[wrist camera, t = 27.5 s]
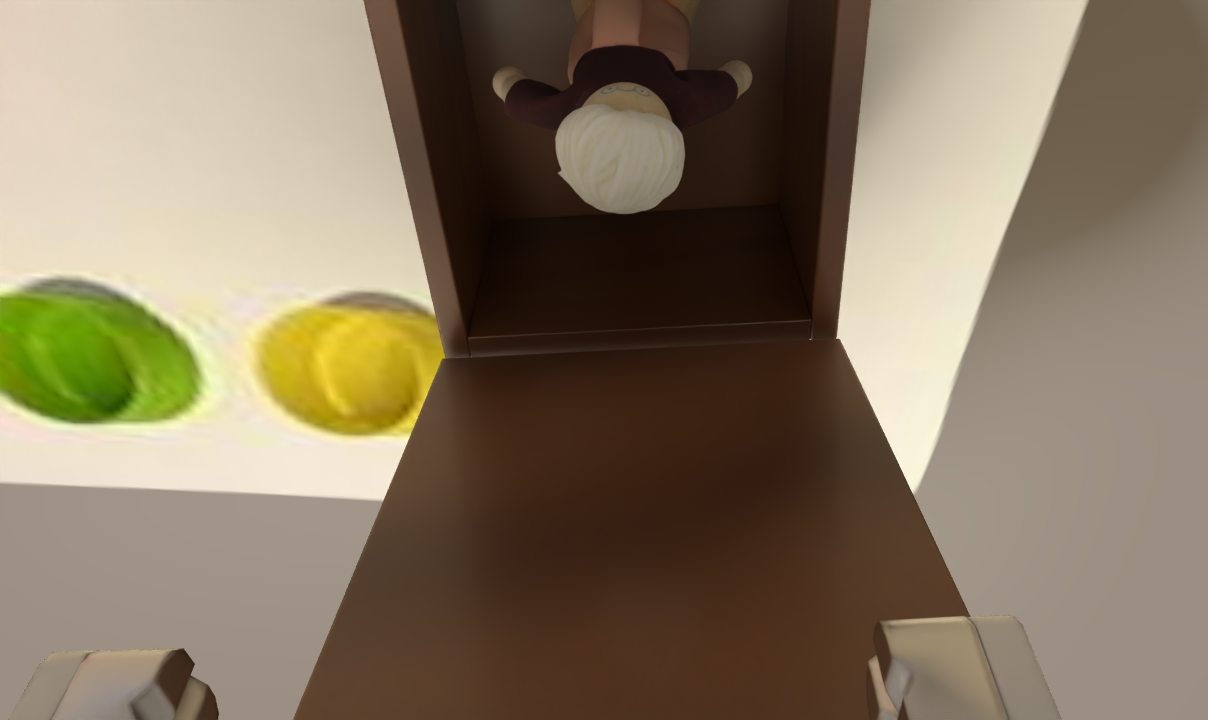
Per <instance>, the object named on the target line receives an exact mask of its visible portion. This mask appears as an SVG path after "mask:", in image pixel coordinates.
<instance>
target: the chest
mask: <svg viewBox="0 0 1208 720" xmlns="http://www.w3.org/2000/svg"><path fill="white" fill-rule="evenodd" d="M363 1H364V5H365V10H366V14H367V18H368V23H369V27H370V31H371V36H372V40H373V45H374V49H375V53H376V58H377V62H378V66H379V71H380V75H381V79H382V84H383V88H384V92H385V97H386V101H387V105H388V110H389V114H390V118H391V123H392V127H393V132H394V136H395V140H396V145H397V149H398V153H399V158H400V162H401V166H402V171H403V175H404V179H405V184H406V188H407V192H408V197H409V201H410V206H411V210H412V214H413V219H414V223H415V227H416V232H417V236H418V240H419V245H420V249H421V253H422V258H423V262H424V266H425V271H426V275H427V280H428V284H429V288H430V293H431V297H432V301H433V306H434V310H435V314H436V319H437V323H438V327H439V332H440V336H441V340H442V345H443V349H444V354H445V357H446V359H448V358H467V357H487V356H506V355H526V354H546V353H565V352H585V351H605V350H624V349H644V348H664V347H683V346H703V345H722V344H742V343H762V342H781V341H801V340H810V339H811V340H821V339H836V337H837V329H838V319H839V309H840V300H841V290H842V280H843V270H844V260H845V251H846V241H847V231H848V221H849V212H850V202H851V192H852V182H853V172H854V163H855V153H856V143H857V133H858V124H859V114H860V104H861V94H862V84H863V75H864V65H865V55H866V45H867V36H868V26H869V16H870V6H871V0H701V4H700V7H699V9H698V12H697V14H696V16H695V18H694V21H693V23H692V25H691V28H690V30H689V34H690V44H689V61H688V65H687V70H718V69H719V68H722V67H723V66H724V65H725V64H726V63H728V62H730V61H734V60H738V61H742V62H744V63H746V64H747V65H748V66H749V68H750V70H751V73H752V82H751V85H750V87H749V88H748V89H747V90H746V91H745V92H744V93H743V94H741V95H740V96H739V97H738V98H737V99H736V101H735V103H734V104H733V105H732V106H731V107H730V108H729V109H727V110H725V111H723V112H721V113H719V114H717V115H715V116H713V117H711V118H709V119H707V120H705V121H702V122H700V123H698V124H695V125H692V126H689V127H687V128H686V129H684V130H682V131H681V133H682V136H683V141H684V148H685V160H684V167H683V171H682V177H681V179H680V182H679V184H678V186H677V188H676V189H675V191H674V192H672V193H671V194H670V195H669V196H667V197H666V198H664V199H663V200H662V201H661V202H660V203H659V204H658V205H657V206H655V207H654V208H651V209H649V210H645V211H640V212H637V213H632V214H617V213H611V212H605V211H602V210H599V209H597V208H595V207H594V206H592V205H590V204H588V203H586V202H585V201H584V200H583V199H582V198H581V197H580V196H579V195H578V194H577V193H576V192H575V191H574V189H573V188H572V187H571V186H570V184H568V183H567V182H566V181H565V180H564V179H563V178H562V177H561V176H560V175H559V174H558V172H561V167H560V165H559V162H558V158H557V154H556V142H555V138H556V134H557V131H558V130H552V129H547V128H542V127H539V126H536V125H531V124H528V123H522V122H519V121H516V120H514V119H512V118H510V117H509V116H508V115H507V114H506V112H505V109H504V101H503V99H501V98H500V97H499V96H498V95H497V94H496V92H495V91H494V88H493V78H494V76H495V74H496V72H497V71H498V70H499V69H501V68H502V67H505V66H513V67H515V68H517V69H519V70H520V71H521V72H522V73H523V74H524V76H525V77H527V78H529V79H532V80H534V81H539V82H543V83H545V84H548V85H551V86H553V87H555V88H556V89H558V90H560V91H563V90H566V89H568V88H569V87H570V86H571V84H570V82H569V77H568V64H569V51H570V46H571V42H572V39H573V35H574V32H575V29H576V27H577V22H576V19H575V16H574V12H573V8H572V2H571V0H363Z"/></svg>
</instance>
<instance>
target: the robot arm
mask: <svg viewBox="0 0 1208 720" xmlns="http://www.w3.org/2000/svg"><path fill="white" fill-rule="evenodd" d="M873 643H874V647H875V651H876V656H875V657H873V658H872V659H871V660H869V661H868V668H867V675H866V690H867V705H868V711H869V718H870V720H1062V719H1061V717H1060V714H1059V711H1058V709H1057V707H1056V705H1055V702H1054V699H1053V697H1052V695H1051V692H1050V690H1049V687H1048V685H1047V683H1046V680H1045V678H1044V675H1043V673H1042V670H1041V668H1040V666H1039V663H1038V661H1037V659H1036V656H1035V654H1034V652H1033V649H1032V646H1031V644H1030V642H1029V639H1028V637H1027V635H1026V632H1025V630H1024V627H1023V625H1022V624H1021V623H1020V622H1019V621H1018V620H1017V618H1016V617H1014V616H1011V615H1002V616H982V617H965V616H957V617H939V618H921V619H903V620H886V621H879V622H878V623H877V624H876V625H875V629H874V634H873ZM194 665H195V664H194V662H193V661H192V659H191V658H190V657H189V655H188V654H187V653H186V651H185V650H184V649H152V650H119V651H98V650H96V651H74V652H53V653H52V654H51V655H50V656H48V657H47V658H46V659H45V660H44V661H43V662H42V663H41V664H40V665H39V666H38V667H37V669H36V671H35V673H34V674H33V676H32V678H31V680H30V682H29V683H28V685H27V687H26V689H25V690H24V692H23V694H22V696H21V697H20V699H19V701H18V703H17V705H16V706H15V708H14V710H13V712H12V714H11V716H10V717H9V719H8V720H218V715H219V712H218V708H217V703H216V698H215V696H214V694H213V693H212V691H211V689H210V687H209V686H208V685H207V684H205V683H204V682H202V681H200V680H198V679H196V678H194V677H192V676H191V672H192V670H193V667H194Z"/></svg>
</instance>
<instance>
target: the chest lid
mask: <svg viewBox="0 0 1208 720" xmlns="http://www.w3.org/2000/svg"><path fill="white" fill-rule="evenodd" d="M957 616H965V617H970V615H969V613H968V611H967V608H966V606H965V604H964V602H963V600H962V598H961V596H960V593H959V591H958V589H957V587H956V585H955V583H954V581H953V579H952V577H951V574H950V572H949V570H948V568H947V566H946V564H945V562H944V560H943V557H942V555H941V553H940V551H939V549H938V547H937V545H936V542H935V541H934V538H933V536H932V534H931V532H930V530H929V528H928V525H927V524H926V521H925V519H924V517H923V515H922V513H921V511H920V509H919V506H918V504H917V502H916V500H915V498H914V496H913V494H912V491H911V489H910V487H909V485H908V483H907V481H906V479H905V477H904V474H903V472H902V470H901V468H900V466H899V464H898V462H897V460H896V457H895V455H894V453H893V451H892V449H891V447H890V445H889V443H888V440H887V438H886V436H885V434H884V432H883V430H882V428H881V426H880V423H879V421H878V419H877V417H876V415H875V413H874V411H873V409H872V406H871V404H870V402H869V400H868V398H867V396H866V394H865V392H864V389H863V387H862V385H861V383H860V381H859V379H858V377H857V375H856V372H855V370H854V368H853V366H852V364H851V362H850V360H849V358H848V355H847V353H846V351H845V349H844V347H843V345H842V343H841V341H840V339H821V340H801V341H781V342H762V343H742V344H722V345H703V346H683V347H664V348H644V349H624V350H605V351H585V352H565V353H546V354H526V355H506V356H487V357H467V358H448V359H442V361H441V363H440V365H439V368H438V370H437V373H436V375H435V378H434V380H433V382H432V385H431V387H430V390H429V392H428V395H427V397H426V399H425V402H424V404H423V407H422V409H421V411H420V414H419V416H418V419H417V421H416V424H415V426H414V428H413V431H412V433H411V436H410V438H409V440H408V443H407V445H406V448H405V450H404V453H403V455H402V457H401V460H400V462H399V465H398V467H397V469H396V472H395V474H394V477H393V479H392V482H391V484H390V486H389V489H388V491H387V494H386V496H385V498H384V501H383V504H382V506H381V508H380V511H379V513H378V516H377V518H376V520H375V523H374V525H373V527H372V530H371V532H370V535H369V537H368V540H367V542H366V544H365V547H364V549H363V552H362V554H361V557H360V559H359V561H358V564H357V566H356V569H355V571H354V573H353V576H352V578H351V581H350V583H349V585H348V588H347V590H346V593H345V595H344V598H343V600H342V603H341V605H340V607H339V610H338V612H337V614H336V617H335V619H334V622H333V624H332V627H331V629H330V631H329V634H328V636H327V639H326V641H325V644H324V646H323V648H322V651H321V653H320V656H319V658H318V661H317V663H316V665H315V668H314V670H313V673H312V675H311V677H310V680H309V682H308V685H307V687H306V689H305V692H304V694H303V697H302V699H301V701H300V704H299V707H298V709H297V711H296V714H295V716H294V719H293V720H870V718H869V711H868V705H867V690H866V675H867V668H868V661H869V660H871V659H872V658H873V657H875V656H876V651H875V647H874V643H873V634H874V629H875V625H876V624H877V623H878V622H879V621H886V620H903V619H921V618H939V617H957Z"/></svg>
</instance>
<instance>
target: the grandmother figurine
mask: <svg viewBox="0 0 1208 720" xmlns="http://www.w3.org/2000/svg"><path fill="white" fill-rule="evenodd" d="M571 2H572V8H573V12H574V16H575V19H576V22H577V27H576V29H575V32H574V35H573V39H572V42H571V46H570V51H569V64H568V77H569V82H570V84H571V86H570V87H569V88H568V89H566V90H563V91H560V90H558V89H556V88H555V87H553V86H551V85H548V84H545V83H543V82H539V81H534V80H532V79H529V78H527V77H525V76H524V74H523V73H522V72H521V71H520V70H519V69H517V68H515V67H513V66H505V67H502V68H501V69H499V70H498V71H497V72H496V74H495V76H494V78H493V88H494V91H495V92H496V94H497V95H498V96H499V97H500V98H501V99H503V101H504V109H505V112H506V114H507V115H508V116H509V117H510V118H512V119H514V120H516V121H519V122H522V123H528V124H531V125H536V126H539V127H542V128H547V129H552V130H558V131H557V134H556V138H555V142H556V154H557V158H558V162H559V165H560V167H561V172H558V174H559V175H560V176H561V177H562V178H563V179H564V180H565V181H566V182H567V183H568V184H570V186H571V187H572V188H573V189H574V191H575V192H576V193H577V194H578V195H579V196H580V197H581V198H582V199H583V200H584V201H585V202H586V203H588V204H590V205H592V206H594V207H595V208H597V209H599V210H602V211H605V212H611V213H617V214H632V213H637V212H640V211H645V210H649V209H651V208H654V207H655V206H657V205H658V204H659V203H660V202H661V201H662V200H663V199H664V198H666V197H667V196H669V195H670V194H671V193H672V192H674V191H675V189H676V188H677V186H678V184H679V182H680V179H681V177H682V171H683V167H684V160H685V148H684V141H683V136H682V133H681V131H682V130H684V129H686V128H687V127H689V126H692V125H695V124H698V123H700V122H702V121H705V120H707V119H709V118H711V117H713V116H715V115H717V114H719V113H721V112H723V111H725V110H727V109H729V108H730V107H731V106H732V105H733V104H734V103H735V101H736V99H737V98H738V97H739V96H740V95H741V94H743V93H744V92H745V91H746V90H747V89H748V88H749V87H750V85H751V82H752V73H751V70H750V68H749V66H748V65H747V64H746V63H744V62H742V61H738V60H734V61H730V62H728V63H726V64H725V65H724V66H723V67H722V68H719V69H718V70H687V65H688V61H689V44H690V34H689V30H690V28H691V25H692V23H693V21H694V18H695V16H696V14H697V12H698V9H699V7H700V4H701V0H571Z"/></svg>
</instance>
